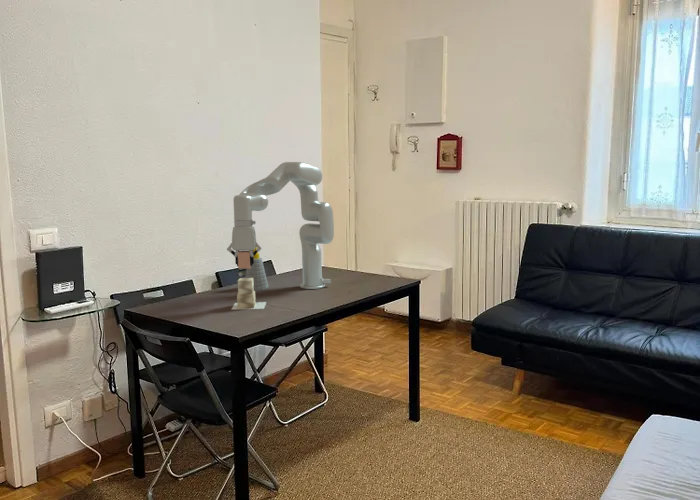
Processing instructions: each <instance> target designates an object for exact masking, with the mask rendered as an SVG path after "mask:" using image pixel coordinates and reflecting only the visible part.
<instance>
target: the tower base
mask: <svg viewBox="0 0 700 500" xmlns="http://www.w3.org/2000/svg"><path fill="white" fill-rule="evenodd" d="M236 301H237V302H236V303H237V306H238V308H254V307H255V304H256V302H257V301H256V291H254V292H253V294H241V295H238V293H237V294H236Z"/></svg>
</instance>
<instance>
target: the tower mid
mask: <svg viewBox="0 0 700 500" xmlns="http://www.w3.org/2000/svg"><path fill="white" fill-rule="evenodd" d="M253 292H254V282H253V278H245V277H239V279H238V280H237V294H238V295H241V294H253Z"/></svg>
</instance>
